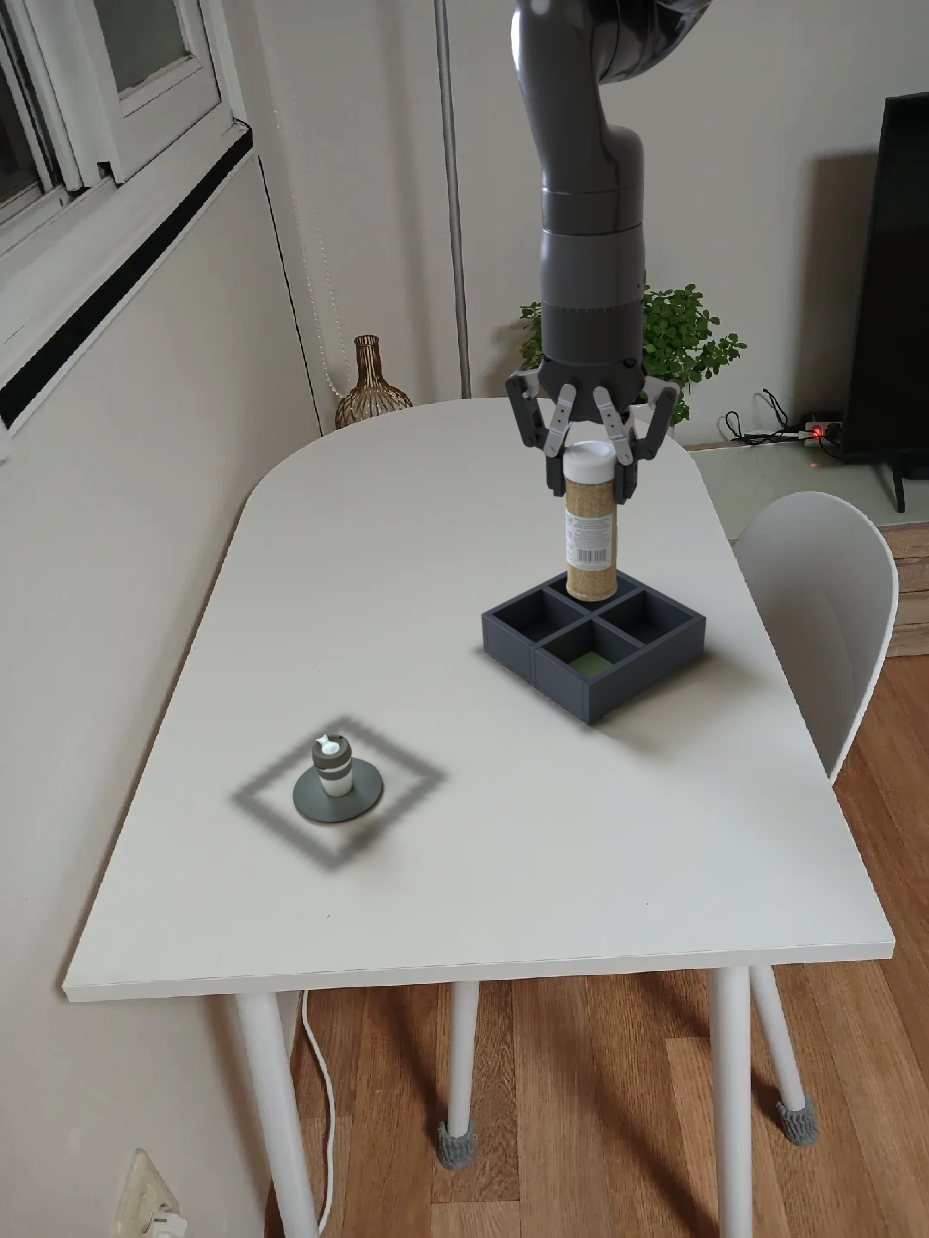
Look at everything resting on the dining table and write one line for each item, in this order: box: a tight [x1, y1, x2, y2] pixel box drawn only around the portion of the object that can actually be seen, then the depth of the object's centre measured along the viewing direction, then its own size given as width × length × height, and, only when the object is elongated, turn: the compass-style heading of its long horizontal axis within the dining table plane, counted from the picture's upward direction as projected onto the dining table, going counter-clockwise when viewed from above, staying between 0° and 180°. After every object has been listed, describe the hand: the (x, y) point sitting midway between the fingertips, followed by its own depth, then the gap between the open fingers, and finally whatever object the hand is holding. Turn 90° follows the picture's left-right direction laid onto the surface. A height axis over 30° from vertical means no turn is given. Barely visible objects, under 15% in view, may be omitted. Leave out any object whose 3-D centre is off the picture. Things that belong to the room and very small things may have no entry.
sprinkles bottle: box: [563, 440, 619, 601], centre depth 81 cm, size 5×5×14 cm
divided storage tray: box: [480, 568, 707, 726], centre depth 94 cm, size 15×15×5 cm
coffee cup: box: [292, 734, 383, 823], centre depth 81 cm, size 12×12×5 cm
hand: (591, 495), depth 79 cm, fingers closed on sprinkles bottle, 4 cm apart
